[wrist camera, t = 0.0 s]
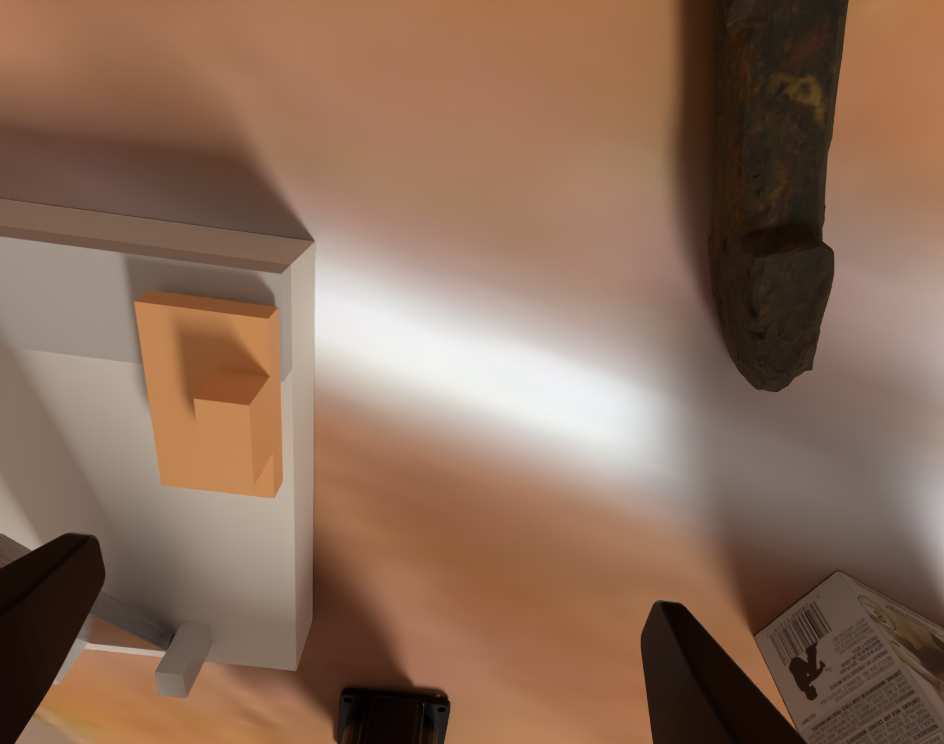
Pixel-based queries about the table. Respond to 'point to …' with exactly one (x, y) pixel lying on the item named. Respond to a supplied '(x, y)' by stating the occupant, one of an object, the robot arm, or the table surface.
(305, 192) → the table surface
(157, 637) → the grey flat bar
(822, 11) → the hand tool
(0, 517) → the mount block
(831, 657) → the coffee box
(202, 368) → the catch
